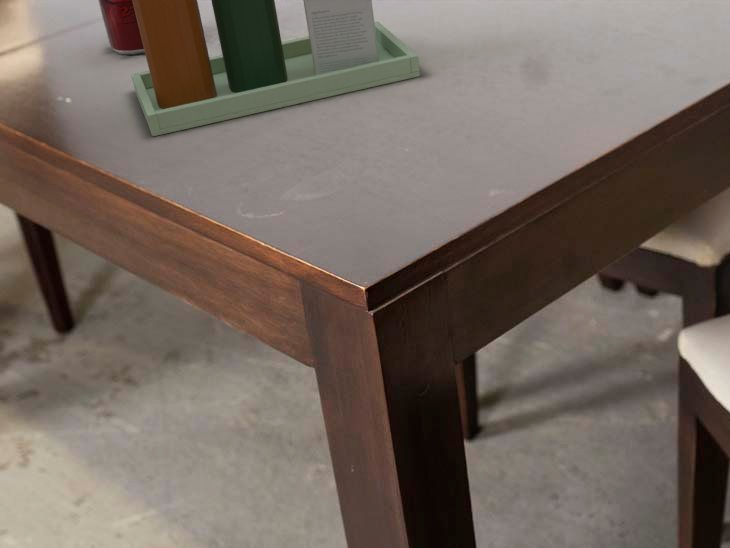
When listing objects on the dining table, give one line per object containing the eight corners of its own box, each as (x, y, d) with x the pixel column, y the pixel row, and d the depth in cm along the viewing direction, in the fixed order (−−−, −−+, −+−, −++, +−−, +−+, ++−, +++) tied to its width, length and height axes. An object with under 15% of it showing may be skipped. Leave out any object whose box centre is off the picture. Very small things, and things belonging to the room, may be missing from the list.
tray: (152, 136, 99) (147, 115, 98) (135, 93, 110) (131, 74, 108) (420, 76, 104) (418, 55, 103) (380, 40, 114) (378, 21, 113)
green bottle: (236, 104, 104) (203, -63, 95) (225, 86, 108) (193, -75, 100) (294, 91, 105) (266, -75, 96) (280, 73, 109) (253, -87, 101)
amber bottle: (163, 120, 103) (122, -48, 94) (155, 101, 107) (116, -60, 98) (222, 107, 104) (187, -60, 95) (211, 89, 108) (177, -72, 100)
